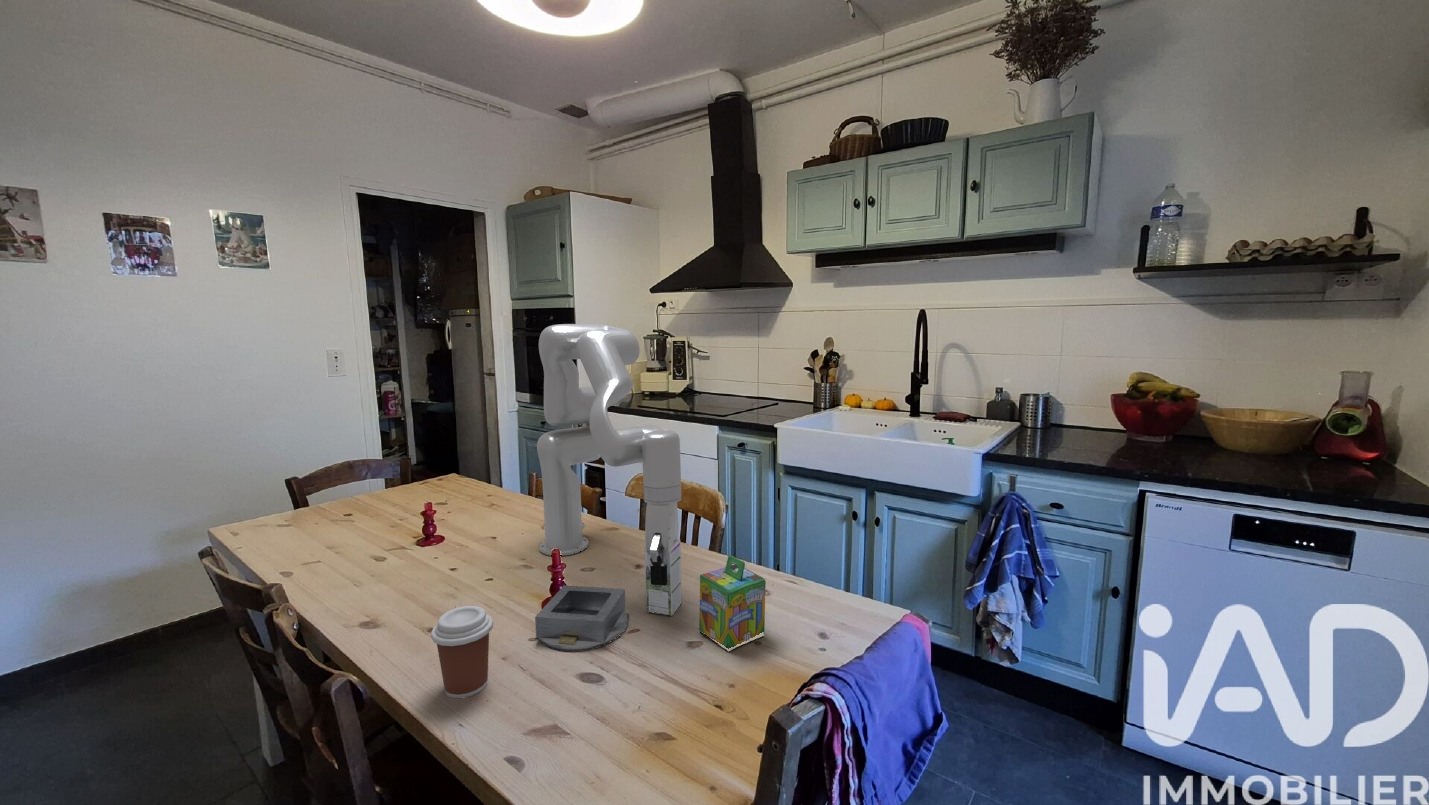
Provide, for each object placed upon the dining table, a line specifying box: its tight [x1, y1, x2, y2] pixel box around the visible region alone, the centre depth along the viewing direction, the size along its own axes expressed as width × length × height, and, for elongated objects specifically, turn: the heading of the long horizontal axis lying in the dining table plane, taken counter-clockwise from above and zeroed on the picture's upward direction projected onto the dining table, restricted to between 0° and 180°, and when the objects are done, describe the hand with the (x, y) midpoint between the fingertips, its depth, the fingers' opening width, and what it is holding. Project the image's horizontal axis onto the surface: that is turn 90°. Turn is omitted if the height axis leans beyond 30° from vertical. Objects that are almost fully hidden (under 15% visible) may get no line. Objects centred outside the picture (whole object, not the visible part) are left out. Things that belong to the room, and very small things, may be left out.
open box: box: [534, 585, 628, 652], centre depth 108 cm, size 17×17×5 cm
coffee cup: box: [430, 605, 494, 699], centre depth 90 cm, size 9×9×12 cm
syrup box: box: [644, 538, 683, 616], centre depth 115 cm, size 6×6×14 cm
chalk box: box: [698, 555, 767, 649], centre depth 105 cm, size 9×9×15 cm
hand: (664, 574), depth 114 cm, fingers open, 9 cm apart
